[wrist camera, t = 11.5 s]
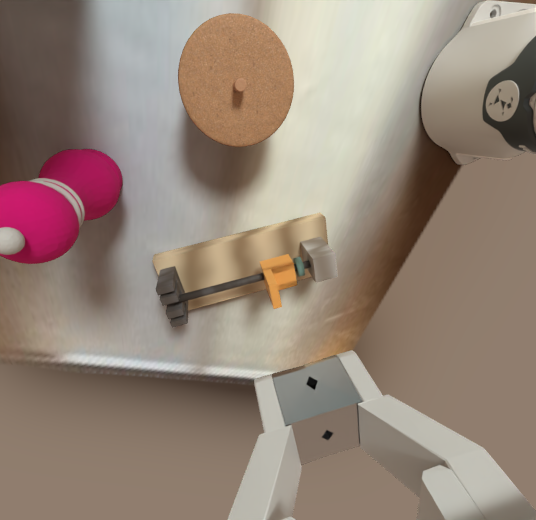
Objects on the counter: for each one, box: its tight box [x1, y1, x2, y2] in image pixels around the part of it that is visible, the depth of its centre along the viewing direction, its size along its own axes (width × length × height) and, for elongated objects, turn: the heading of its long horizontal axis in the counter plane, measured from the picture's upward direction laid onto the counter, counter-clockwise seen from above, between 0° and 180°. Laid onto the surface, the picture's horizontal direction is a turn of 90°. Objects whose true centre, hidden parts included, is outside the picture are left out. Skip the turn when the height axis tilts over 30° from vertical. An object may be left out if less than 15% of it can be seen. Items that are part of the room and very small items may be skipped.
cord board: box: [152, 213, 337, 327], centre depth 42 cm, size 24×9×8 cm, turn 101°
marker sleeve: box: [260, 254, 297, 309], centre depth 39 cm, size 4×3×6 cm
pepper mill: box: [0, 149, 122, 264], centre depth 28 cm, size 7×7×20 cm
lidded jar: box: [178, 13, 294, 147], centre depth 31 cm, size 11×11×9 cm
